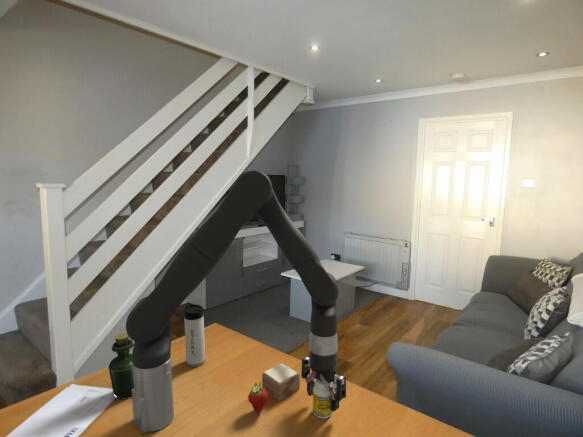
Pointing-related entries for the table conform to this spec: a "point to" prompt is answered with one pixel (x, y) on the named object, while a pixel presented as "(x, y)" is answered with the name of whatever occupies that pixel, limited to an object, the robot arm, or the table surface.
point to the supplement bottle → (321, 400)
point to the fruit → (258, 397)
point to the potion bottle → (122, 367)
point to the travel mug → (194, 335)
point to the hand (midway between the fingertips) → (322, 402)
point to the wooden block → (281, 381)
